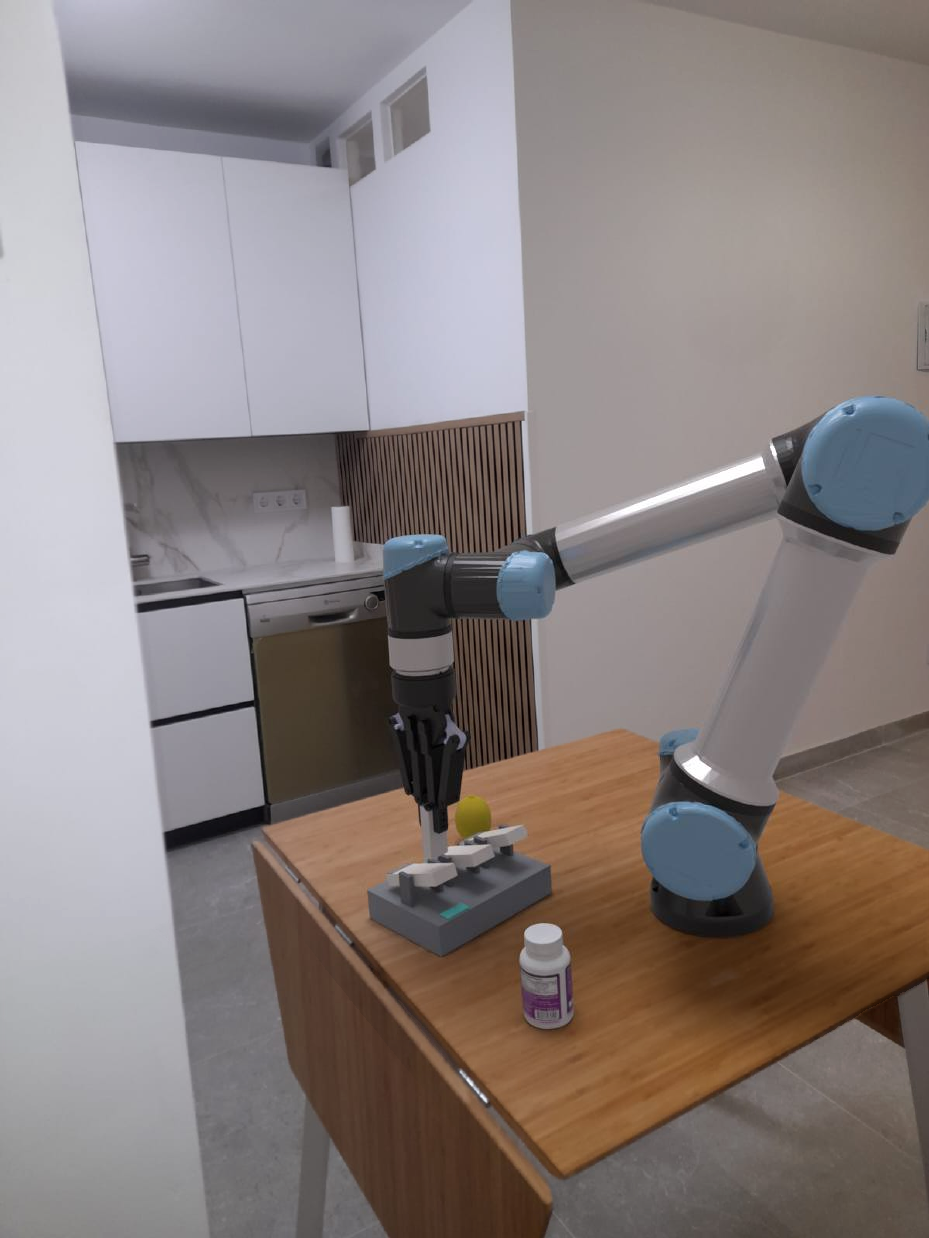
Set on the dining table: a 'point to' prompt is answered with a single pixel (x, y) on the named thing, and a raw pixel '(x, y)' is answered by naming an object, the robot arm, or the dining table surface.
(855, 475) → the robot arm
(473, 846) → the rocker
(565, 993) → the pill bottle
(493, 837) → the rocker
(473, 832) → the lemon
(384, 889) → the console
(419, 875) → the rocker
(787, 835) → the dining table surface
